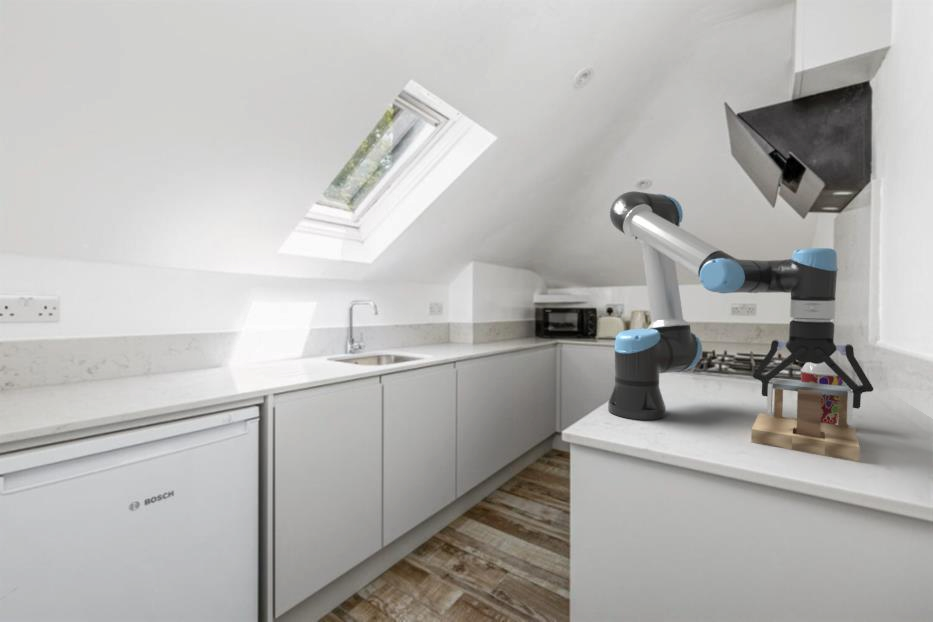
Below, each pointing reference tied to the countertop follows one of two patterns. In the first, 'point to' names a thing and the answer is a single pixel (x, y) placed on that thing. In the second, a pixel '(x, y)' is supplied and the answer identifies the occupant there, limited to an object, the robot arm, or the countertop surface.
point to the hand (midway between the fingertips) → (807, 416)
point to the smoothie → (823, 376)
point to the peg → (809, 413)
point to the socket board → (783, 434)
